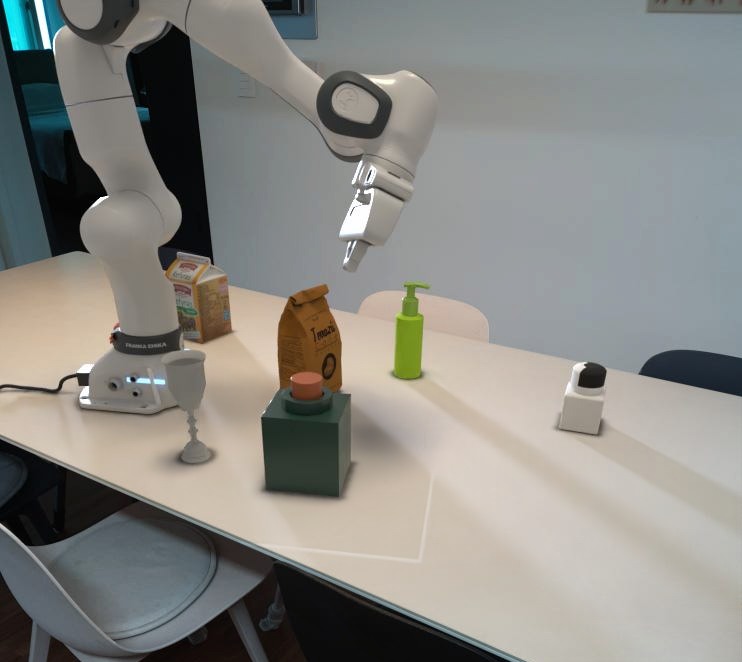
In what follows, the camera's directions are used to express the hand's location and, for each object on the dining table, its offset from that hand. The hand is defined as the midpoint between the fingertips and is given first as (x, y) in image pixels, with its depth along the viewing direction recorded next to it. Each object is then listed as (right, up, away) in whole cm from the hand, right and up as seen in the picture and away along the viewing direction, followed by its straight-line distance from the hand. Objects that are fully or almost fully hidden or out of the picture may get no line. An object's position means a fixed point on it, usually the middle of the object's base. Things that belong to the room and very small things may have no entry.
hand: (348, 271), depth 116 cm
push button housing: (-7, -33, +4) cm, 34 cm away
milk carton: (-39, +4, +64) cm, 75 cm away
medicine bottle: (+44, -23, +23) cm, 54 cm away
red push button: (-6, -21, -4) cm, 22 cm away
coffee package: (-9, -16, +32) cm, 37 cm away
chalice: (-27, -29, +10) cm, 41 cm away
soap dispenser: (+12, -9, +43) cm, 46 cm away
